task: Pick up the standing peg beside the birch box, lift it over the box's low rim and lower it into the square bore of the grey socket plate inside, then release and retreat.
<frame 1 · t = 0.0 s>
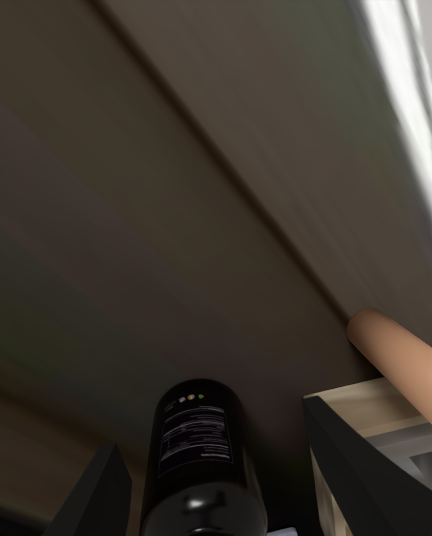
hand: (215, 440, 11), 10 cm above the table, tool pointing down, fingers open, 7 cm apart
supplement bottle: (198, 408, 23), on the table
box: (376, 450, 26), on the table
peg: (366, 327, 22), on the table
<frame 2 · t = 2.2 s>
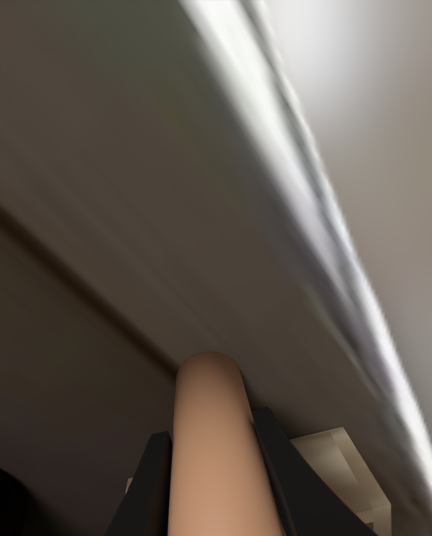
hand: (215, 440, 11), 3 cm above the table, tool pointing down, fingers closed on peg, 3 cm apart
peg: (208, 380, 14), on the table, touching gripper
when the fingers open (5 cm above the table, at t = 5.3 s): peg stays where it is, resting on box.
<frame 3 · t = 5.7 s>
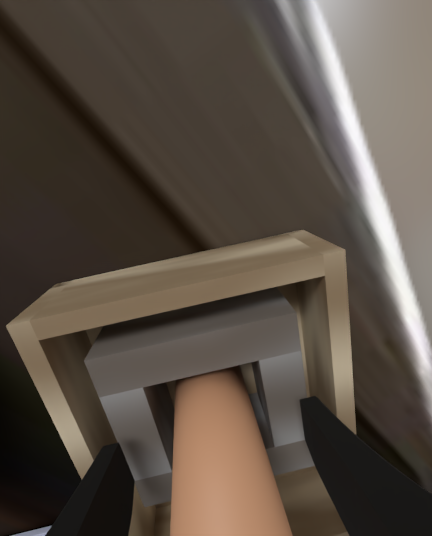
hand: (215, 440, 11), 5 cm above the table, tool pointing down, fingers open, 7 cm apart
box: (214, 389, 16), on the table
peg: (207, 365, 15), point 1 cm above the table, touching box
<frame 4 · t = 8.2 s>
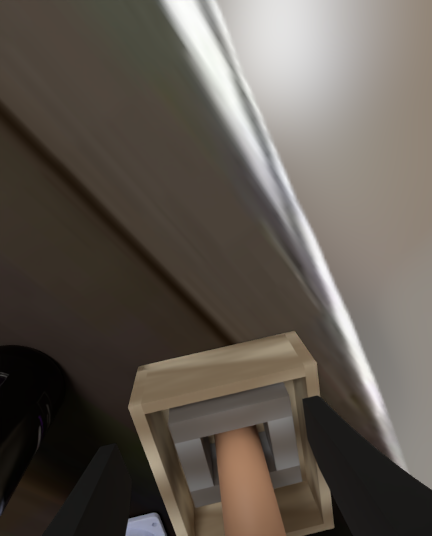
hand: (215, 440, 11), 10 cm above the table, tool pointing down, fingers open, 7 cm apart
supplement bottle: (21, 379, 21), on the table
box: (235, 428, 24), on the table
peg: (232, 414, 23), point 1 cm above the table, touching box
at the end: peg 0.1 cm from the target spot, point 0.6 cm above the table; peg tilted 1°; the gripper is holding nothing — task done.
